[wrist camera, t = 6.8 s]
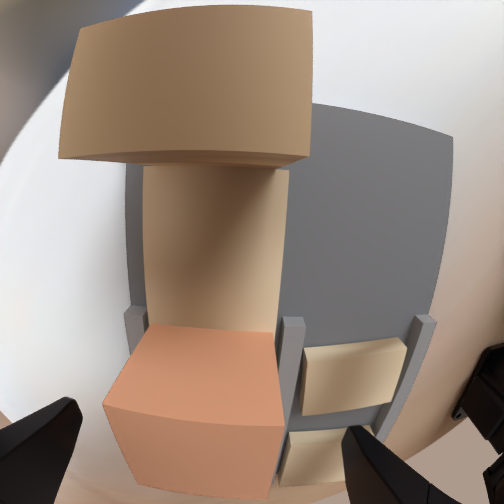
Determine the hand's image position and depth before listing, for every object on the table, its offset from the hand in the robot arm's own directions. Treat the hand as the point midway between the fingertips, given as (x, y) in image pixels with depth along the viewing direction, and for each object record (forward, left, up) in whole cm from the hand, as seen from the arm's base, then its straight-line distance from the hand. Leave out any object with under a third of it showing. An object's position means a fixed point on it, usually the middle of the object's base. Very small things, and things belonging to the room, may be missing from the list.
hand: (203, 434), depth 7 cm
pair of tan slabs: (-6, +4, -4) cm, 8 cm away
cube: (0, 0, -3) cm, 3 cm away
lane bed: (-3, 0, -5) cm, 6 cm away
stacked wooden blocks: (0, -3, -4) cm, 5 cm away
